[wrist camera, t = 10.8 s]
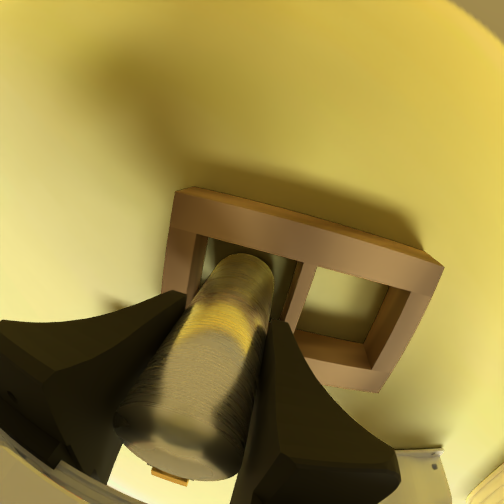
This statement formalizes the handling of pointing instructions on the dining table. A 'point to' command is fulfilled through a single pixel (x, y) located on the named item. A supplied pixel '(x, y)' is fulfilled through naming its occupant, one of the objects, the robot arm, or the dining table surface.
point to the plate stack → (489, 489)
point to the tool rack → (309, 276)
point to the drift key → (169, 476)
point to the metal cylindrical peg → (203, 378)
